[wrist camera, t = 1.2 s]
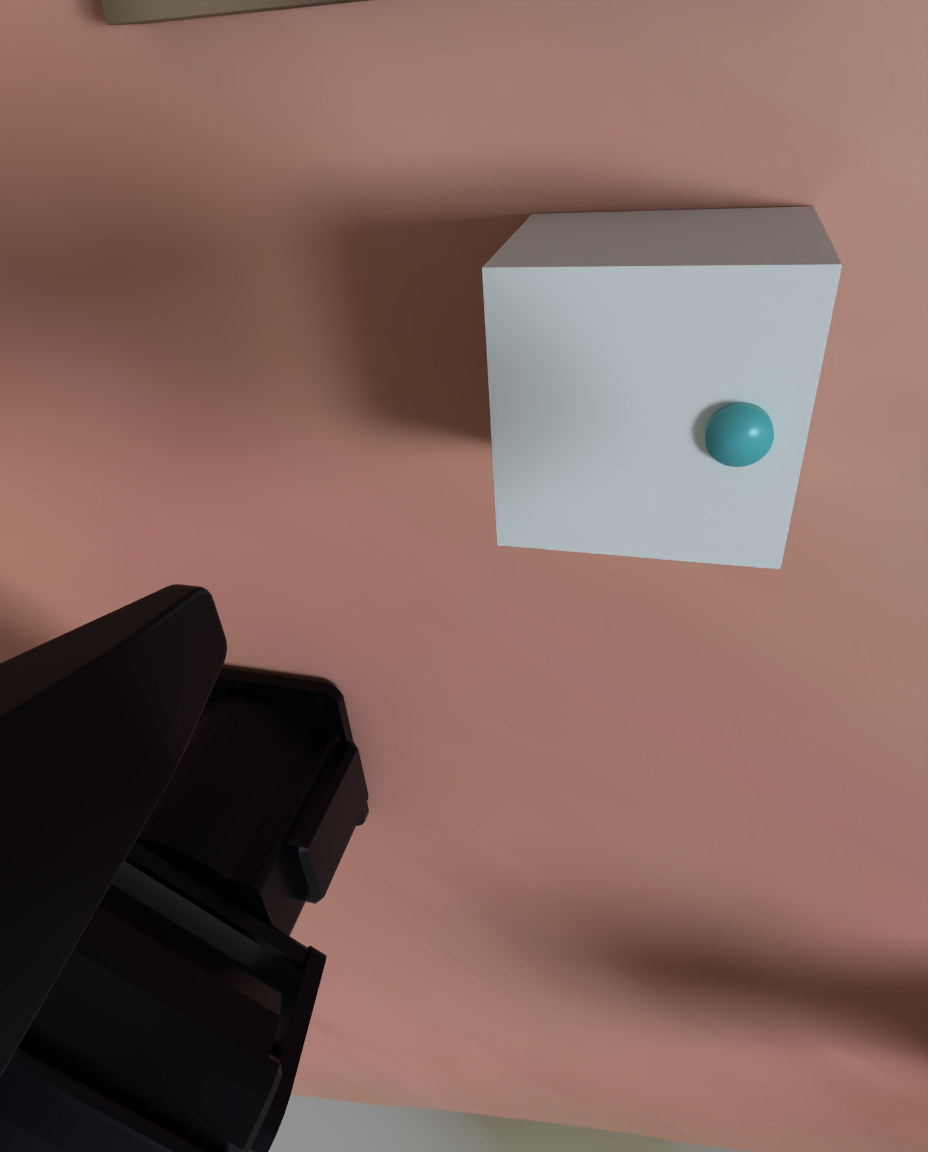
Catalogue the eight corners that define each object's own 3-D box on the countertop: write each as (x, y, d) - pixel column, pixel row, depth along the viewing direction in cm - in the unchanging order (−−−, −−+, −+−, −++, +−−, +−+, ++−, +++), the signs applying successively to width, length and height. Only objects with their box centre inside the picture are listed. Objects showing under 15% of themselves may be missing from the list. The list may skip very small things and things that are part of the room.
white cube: (536, 451, 18) (495, 551, 14) (532, 214, 15) (478, 271, 11) (769, 463, 16) (781, 576, 13) (813, 206, 13) (844, 267, 10)
